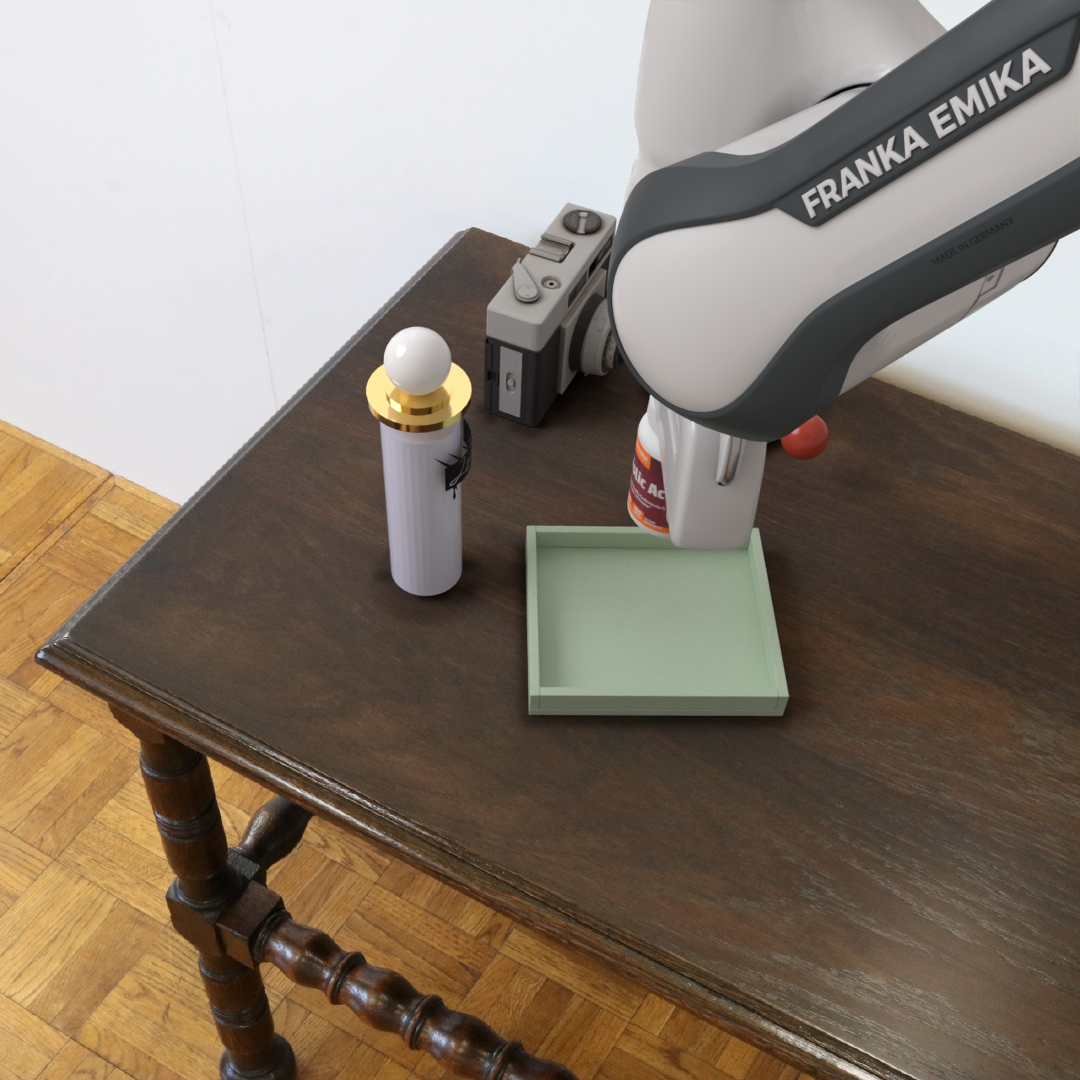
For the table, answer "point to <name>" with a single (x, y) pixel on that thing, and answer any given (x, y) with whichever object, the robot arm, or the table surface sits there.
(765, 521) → the table surface
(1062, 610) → the table surface
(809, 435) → the lever
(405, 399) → the perfume bottle
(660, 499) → the pill bottle
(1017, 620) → the table surface
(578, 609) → the tray
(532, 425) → the camera
